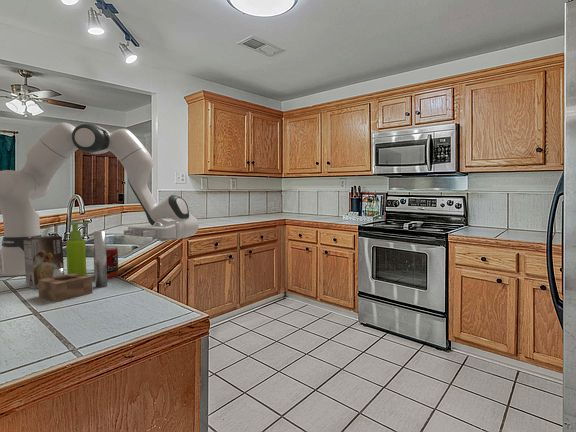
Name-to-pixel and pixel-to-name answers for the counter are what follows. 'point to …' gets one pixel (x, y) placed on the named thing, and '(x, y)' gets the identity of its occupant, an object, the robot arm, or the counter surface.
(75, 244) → the soap dispenser
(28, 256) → the coffee box
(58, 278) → the walnut socket block
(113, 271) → the canned food
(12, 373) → the counter surface
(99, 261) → the long steel dowel
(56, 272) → the short steel dowel
